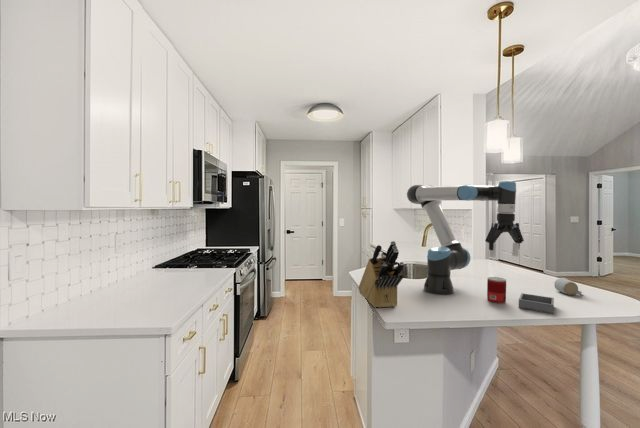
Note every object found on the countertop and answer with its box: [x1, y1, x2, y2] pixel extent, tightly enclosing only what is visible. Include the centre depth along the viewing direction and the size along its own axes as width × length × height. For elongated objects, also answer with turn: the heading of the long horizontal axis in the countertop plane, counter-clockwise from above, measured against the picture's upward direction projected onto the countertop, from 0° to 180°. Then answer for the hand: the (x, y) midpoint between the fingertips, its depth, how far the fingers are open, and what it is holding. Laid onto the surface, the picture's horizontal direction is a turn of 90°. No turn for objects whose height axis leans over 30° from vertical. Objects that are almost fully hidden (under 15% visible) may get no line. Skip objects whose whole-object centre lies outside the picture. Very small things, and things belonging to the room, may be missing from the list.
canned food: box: [486, 276, 507, 304], centre depth 150 cm, size 8×8×11 cm
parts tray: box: [518, 292, 555, 315], centre depth 141 cm, size 13×13×4 cm
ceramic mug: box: [553, 277, 583, 296], centre depth 163 cm, size 11×8×8 cm
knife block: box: [358, 240, 405, 309], centre depth 148 cm, size 11×35×31 cm, turn 9°
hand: (503, 256), depth 150 cm, fingers open, 13 cm apart
